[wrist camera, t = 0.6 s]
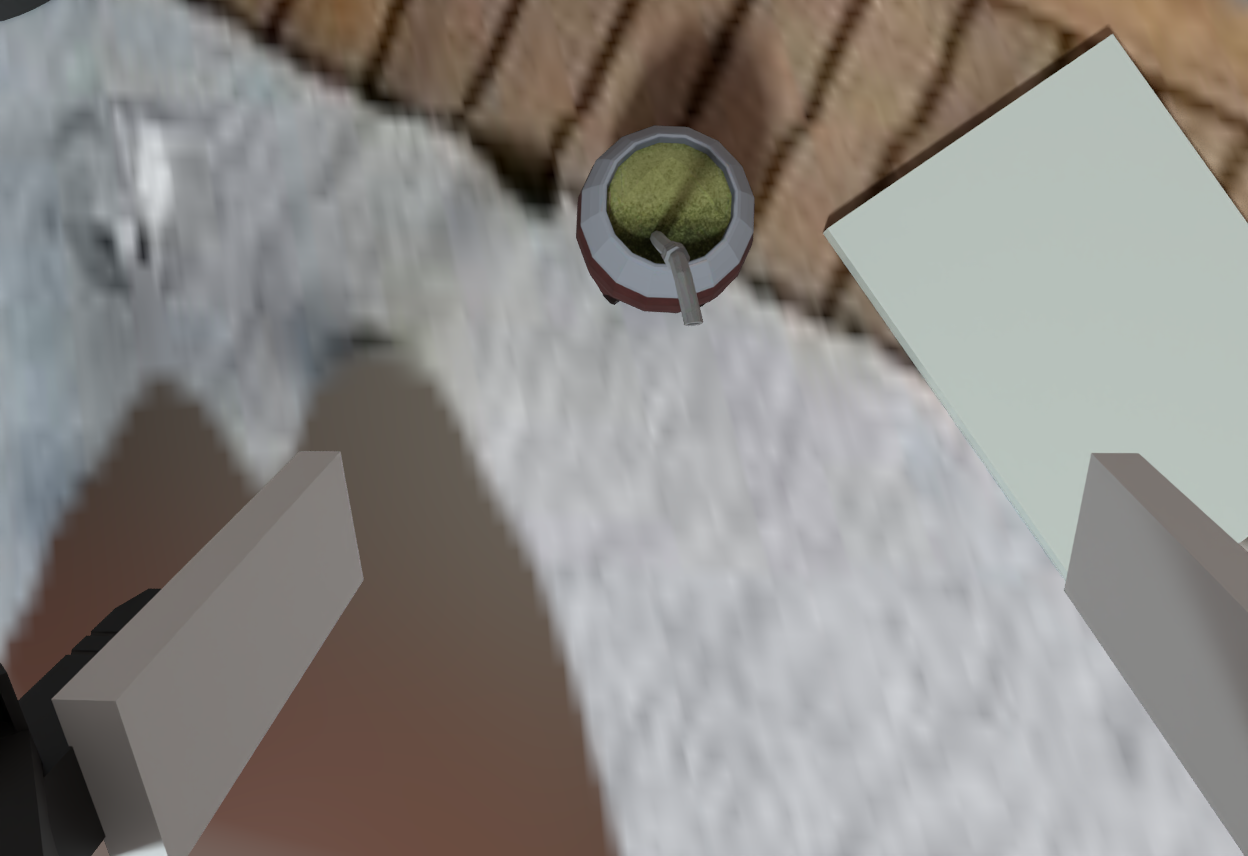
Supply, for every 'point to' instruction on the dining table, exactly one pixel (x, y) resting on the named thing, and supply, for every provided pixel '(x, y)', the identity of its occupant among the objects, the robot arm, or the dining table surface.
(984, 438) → the sage tile
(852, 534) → the dining table surface
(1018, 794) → the dining table surface
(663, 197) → the mate gourd
